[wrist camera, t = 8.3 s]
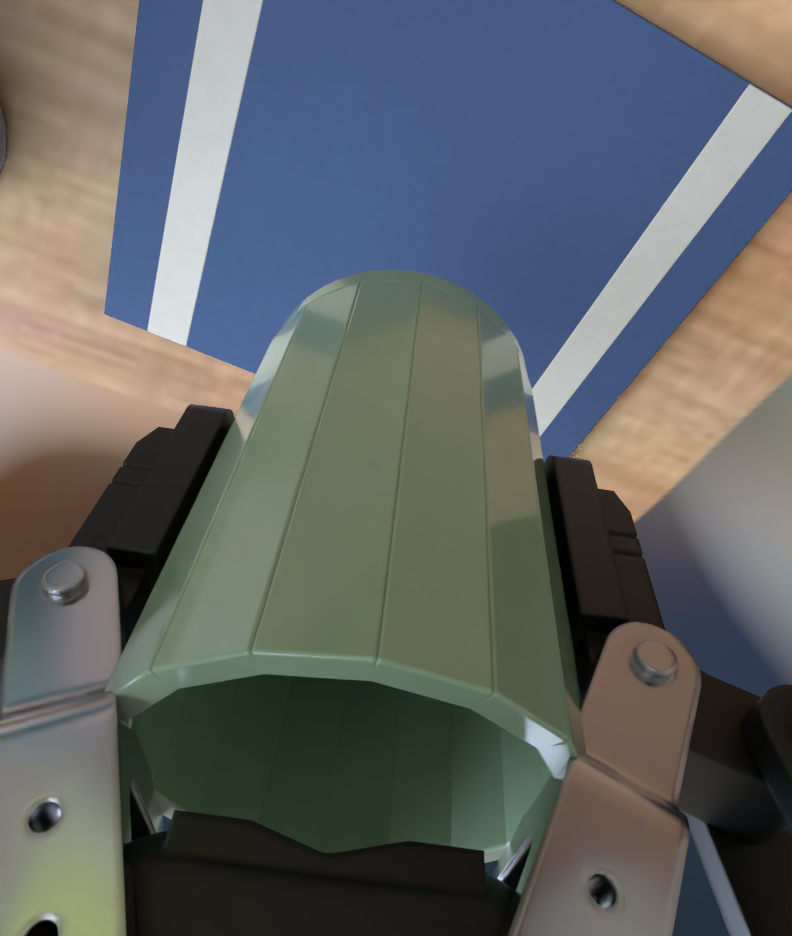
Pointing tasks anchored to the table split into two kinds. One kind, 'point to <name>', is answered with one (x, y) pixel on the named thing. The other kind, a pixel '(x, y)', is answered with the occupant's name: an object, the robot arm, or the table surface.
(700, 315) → the table surface
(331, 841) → the tumbler
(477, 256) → the towel
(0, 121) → the aerosol can
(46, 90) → the table surface
